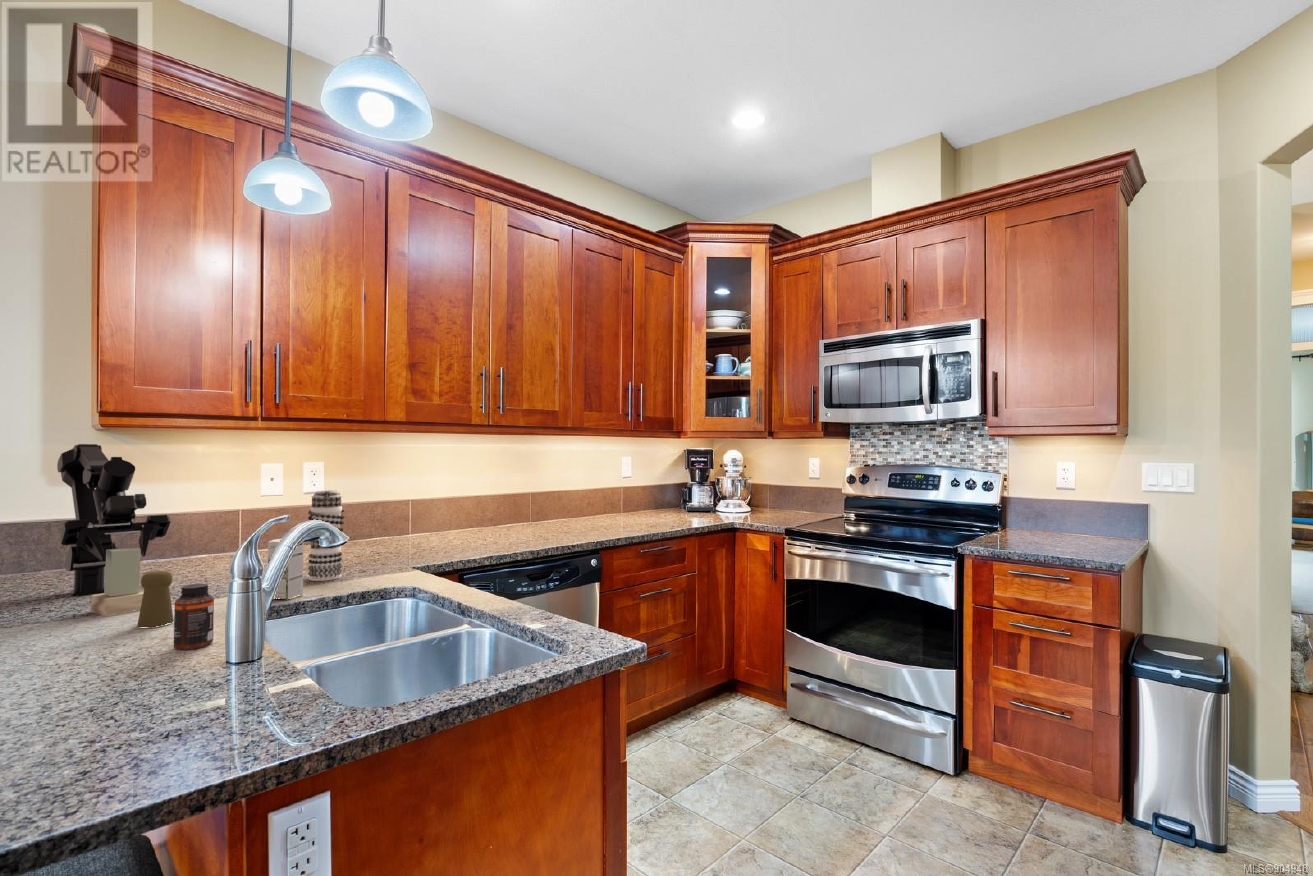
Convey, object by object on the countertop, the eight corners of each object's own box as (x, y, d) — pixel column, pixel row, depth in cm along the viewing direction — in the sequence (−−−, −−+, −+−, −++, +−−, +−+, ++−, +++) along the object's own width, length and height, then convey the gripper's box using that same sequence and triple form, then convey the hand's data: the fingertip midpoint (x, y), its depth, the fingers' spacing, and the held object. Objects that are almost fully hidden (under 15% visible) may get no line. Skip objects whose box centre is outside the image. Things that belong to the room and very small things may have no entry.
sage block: (104, 593, 139) (106, 549, 140) (132, 590, 144) (134, 547, 144) (110, 596, 137) (112, 551, 137) (138, 593, 141) (140, 549, 141)
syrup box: (303, 595, 155) (305, 537, 156) (287, 600, 150) (288, 541, 150) (282, 594, 156) (284, 537, 156) (265, 600, 150) (267, 540, 150)
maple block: (90, 613, 138) (91, 595, 138) (133, 605, 145) (134, 588, 145) (106, 618, 134) (107, 599, 134) (150, 610, 141) (151, 592, 142)
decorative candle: (308, 576, 179) (309, 490, 180) (343, 573, 183) (345, 489, 183) (305, 582, 171) (306, 492, 171) (342, 579, 175) (344, 491, 175)
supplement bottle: (220, 643, 116) (222, 583, 117) (187, 653, 111) (189, 590, 111) (198, 639, 118) (200, 581, 119) (165, 649, 113) (167, 587, 113)
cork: (180, 622, 130) (181, 570, 130) (146, 630, 125) (148, 575, 125) (164, 619, 133) (165, 568, 133) (130, 626, 127) (132, 572, 127)
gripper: (64, 484, 135) (75, 539, 128) (169, 481, 150) (183, 530, 143) (55, 517, 140) (65, 572, 133) (157, 511, 155) (171, 560, 148)
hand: (124, 557), depth 139 cm, fingers open, 7 cm apart
